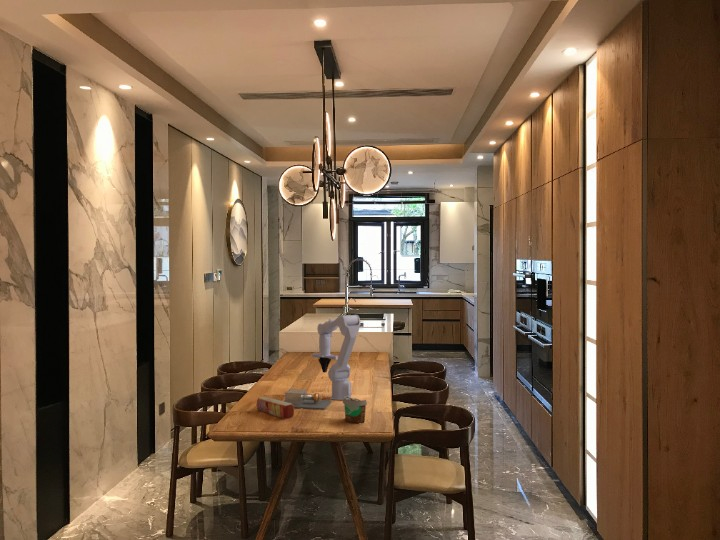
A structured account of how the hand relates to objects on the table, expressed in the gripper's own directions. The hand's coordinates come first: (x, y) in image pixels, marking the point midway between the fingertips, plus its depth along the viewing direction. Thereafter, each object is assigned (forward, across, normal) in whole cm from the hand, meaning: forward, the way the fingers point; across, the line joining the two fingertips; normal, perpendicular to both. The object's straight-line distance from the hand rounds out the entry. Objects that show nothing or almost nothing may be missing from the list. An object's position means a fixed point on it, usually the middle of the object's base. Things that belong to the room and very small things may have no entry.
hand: (324, 372), depth 291 cm
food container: (+10, +38, -40) cm, 56 cm away
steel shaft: (+9, +3, -26) cm, 28 cm away
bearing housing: (+10, +1, -27) cm, 29 cm away
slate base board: (+10, +5, -26) cm, 28 cm away
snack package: (+11, +2, -46) cm, 47 cm away
